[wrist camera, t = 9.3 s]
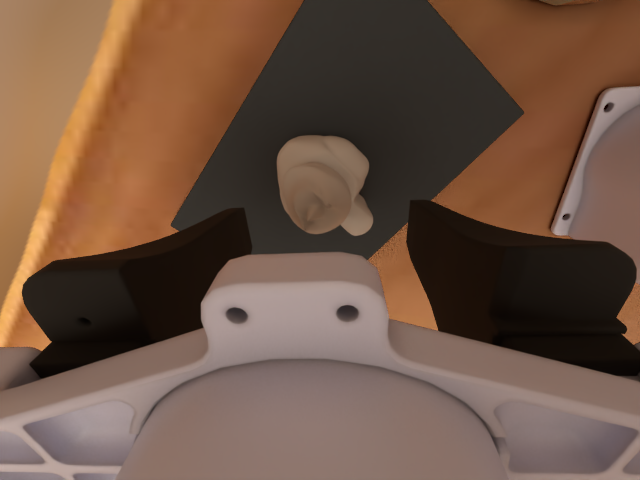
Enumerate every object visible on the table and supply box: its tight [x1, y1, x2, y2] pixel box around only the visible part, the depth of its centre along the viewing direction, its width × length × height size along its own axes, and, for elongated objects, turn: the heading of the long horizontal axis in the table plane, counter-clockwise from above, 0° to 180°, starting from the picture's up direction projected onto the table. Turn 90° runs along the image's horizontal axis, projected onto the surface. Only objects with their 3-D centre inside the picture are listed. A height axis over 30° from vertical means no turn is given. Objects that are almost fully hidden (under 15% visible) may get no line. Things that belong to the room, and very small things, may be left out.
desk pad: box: [171, 0, 524, 260], centre depth 20 cm, size 20×13×1 cm, turn 142°
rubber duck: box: [277, 135, 373, 236], centre depth 15 cm, size 5×7×8 cm
